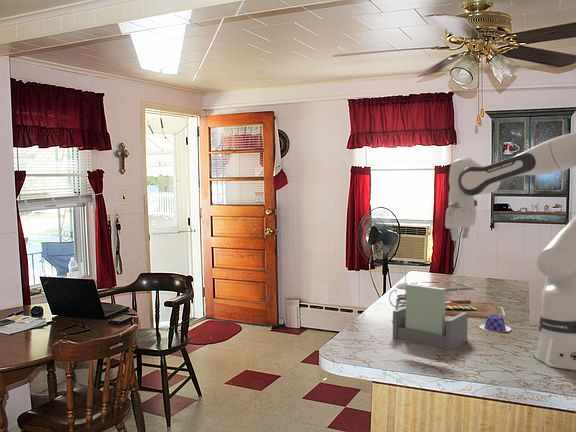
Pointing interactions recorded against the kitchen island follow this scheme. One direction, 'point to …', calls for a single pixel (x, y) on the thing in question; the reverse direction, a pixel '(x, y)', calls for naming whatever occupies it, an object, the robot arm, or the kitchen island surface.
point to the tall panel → (425, 308)
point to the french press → (401, 297)
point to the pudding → (495, 324)
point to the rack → (452, 338)
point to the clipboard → (452, 288)
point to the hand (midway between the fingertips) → (460, 239)
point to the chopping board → (471, 308)
